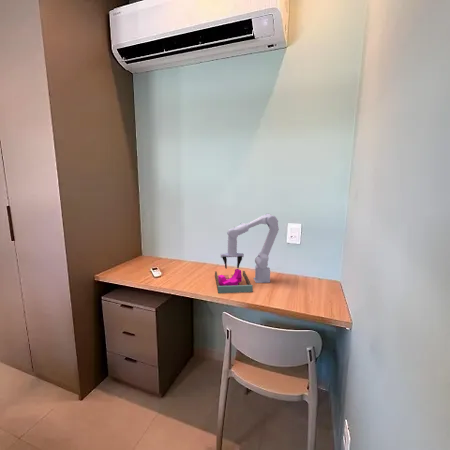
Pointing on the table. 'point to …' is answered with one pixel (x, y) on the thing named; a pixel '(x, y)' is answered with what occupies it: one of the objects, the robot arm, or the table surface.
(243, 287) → the end stop
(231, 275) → the trap squares
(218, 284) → the lane rails
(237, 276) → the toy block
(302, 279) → the table surface
